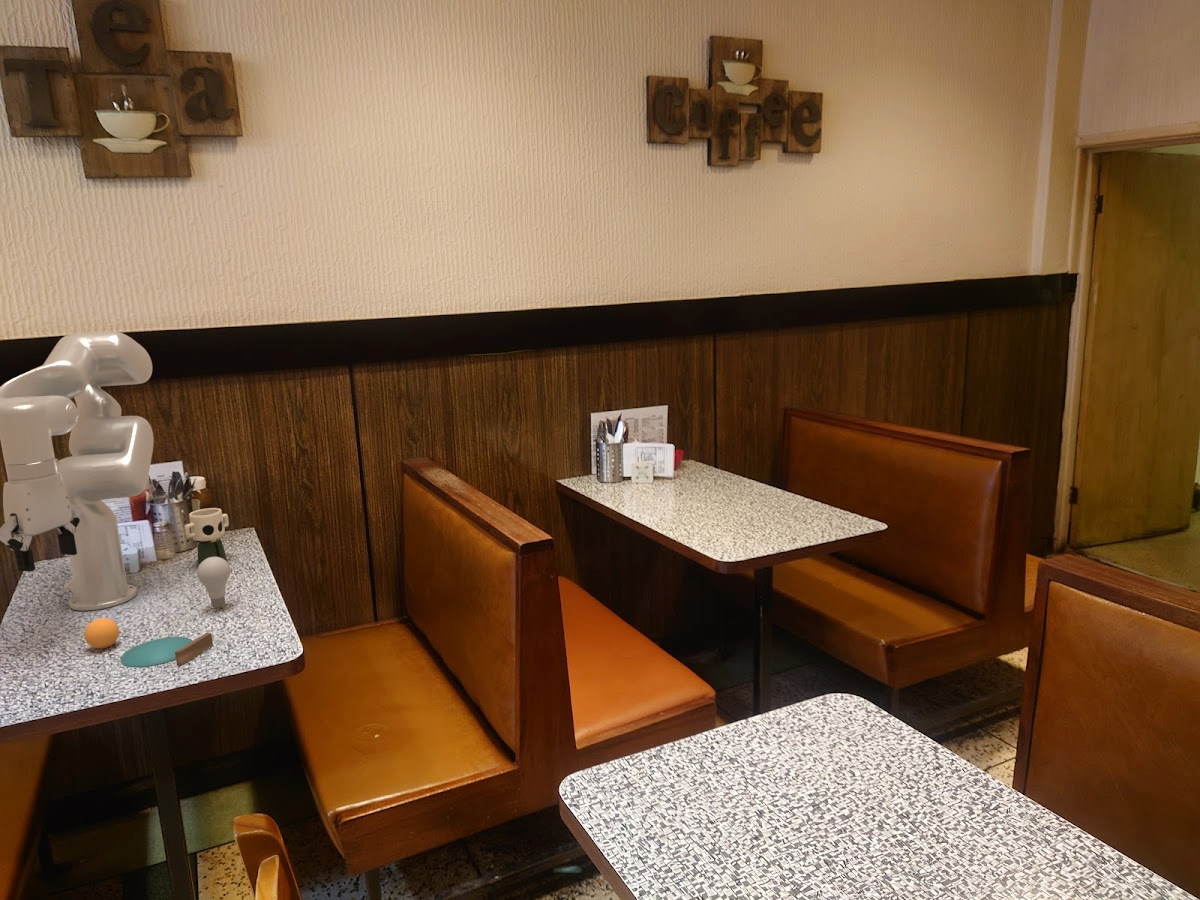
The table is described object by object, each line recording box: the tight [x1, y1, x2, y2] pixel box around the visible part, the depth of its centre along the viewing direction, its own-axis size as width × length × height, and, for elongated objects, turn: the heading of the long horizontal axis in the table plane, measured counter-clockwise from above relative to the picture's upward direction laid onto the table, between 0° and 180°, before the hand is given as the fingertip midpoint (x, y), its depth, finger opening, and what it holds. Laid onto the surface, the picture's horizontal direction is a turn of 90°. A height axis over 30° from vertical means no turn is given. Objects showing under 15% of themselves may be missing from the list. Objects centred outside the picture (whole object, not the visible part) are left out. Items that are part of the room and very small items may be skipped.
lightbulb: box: [196, 557, 231, 610], centre depth 170 cm, size 6×6×11 cm
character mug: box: [184, 507, 230, 565], centre depth 198 cm, size 11×7×13 cm, turn 147°
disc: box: [120, 636, 194, 668], centre depth 151 cm, size 12×12×1 cm
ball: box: [84, 617, 120, 649], centre depth 154 cm, size 6×6×6 cm
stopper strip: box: [175, 632, 214, 666], centre depth 149 cm, size 1×8×2 cm, turn 166°
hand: (48, 562), depth 153 cm, fingers open, 8 cm apart
